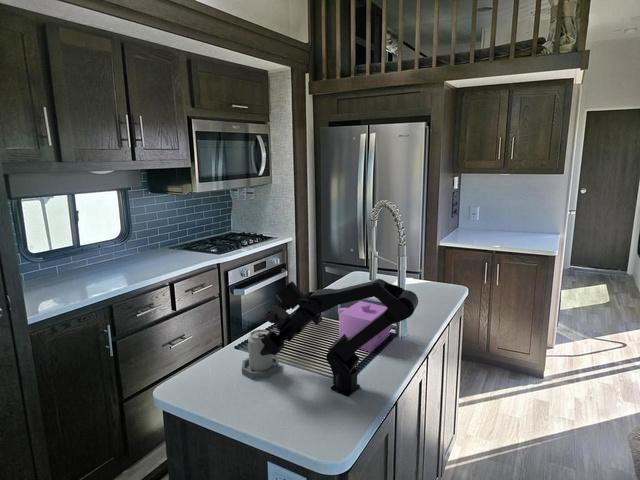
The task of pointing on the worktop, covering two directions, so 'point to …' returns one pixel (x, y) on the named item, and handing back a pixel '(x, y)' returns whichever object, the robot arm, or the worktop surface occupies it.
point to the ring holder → (261, 374)
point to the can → (258, 352)
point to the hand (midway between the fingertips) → (268, 347)
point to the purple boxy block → (361, 322)
